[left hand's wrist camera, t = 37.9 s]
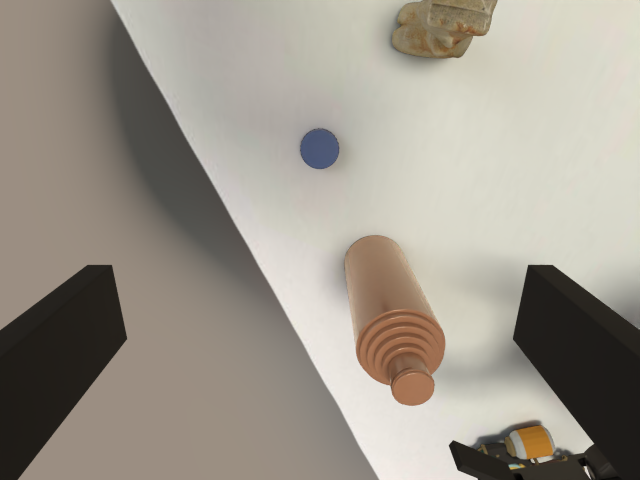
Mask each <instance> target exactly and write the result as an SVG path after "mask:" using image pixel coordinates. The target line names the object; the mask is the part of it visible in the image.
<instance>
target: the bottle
mask: <svg viewBox="0 0 640 480" xmlns="http://www.w3.org/2000/svg"><path fill="white" fill-rule="evenodd" d="M344 268H345V275H346V282H347V290H348V297H349V304H350V311H351V318H352V326H353V333H354V340H355V347H356V354H357V358H358V361H359V363H360V365H361V366H362V368H363V369H364V370H365V371H366V372H367V373H368V374H369V375H370V376H371V377H372V378H373V379H375V380H376V381H378V382H380V383H383V384H386V385H390V386H391V391H392V395H393V396H394V398H395V399H396V400H397V401H398V402H399V403H401V404H405V405H409V406H415V405H420V404H422V403H424V402H426V401H427V400H429V399H430V397H431V396H432V394H433V392H434V380H433V378H432V376H431V375H432V374H433V373H434V372H435V371H436V369H437V368H438V367H439V365H440V364H441V361H442V359H443V355H444V350H445V337H444V333H443V331H442V329H441V327H440V325H439V323H438V321H437V319H436V317H435V315H434V313H433V311H432V309H431V307H430V305H429V303H428V301H427V299H426V297H425V295H424V293H423V291H422V289H421V287H420V286H419V284H418V282H417V280H416V278H415V276H414V274H413V272H412V270H411V268H410V266H409V264H408V262H407V260H406V258H405V256H404V254H403V252H402V250H401V249H400V247H399V246H398V245H397V244H396V243H395V242H394V241H393V240H391V239H389V238H387V237H384V236H378V235H373V236H367V237H364V238H362V239H360V240H358V241H356V242H355V243H354V244H353V245H352V246H351V247H350V248H349V250H348V251H347V254H346V256H345V260H344Z"/></svg>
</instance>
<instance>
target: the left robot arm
mask: <svg viewBox="0 0 640 480" xmlns="http://www.w3.org/2000/svg"><path fill="white" fill-rule="evenodd" d="M126 340H127V336H126V331H125V326H124V321H123V317H122V312H121V307H120V302H119V297H118V292H117V287H116V283H115V278H114V273H113V268H112V265H87V266H86V267H84V268H83V269H82V270H80V271H79V272H78V273H76V274H75V275H74V276H72V277H71V278H70V279H68V280H67V281H66V282H64V283H63V284H61V285H60V286H59V287H58V288H56V289H55V290H54V291H52V292H51V293H49V294H48V295H47V296H46V297H44V298H43V299H41V300H40V301H39V302H37V303H36V304H35V305H33V306H32V307H31V308H29V309H28V310H27V311H25V312H24V313H23V314H21V315H20V316H19V317H17V318H16V319H15V320H13V321H12V322H11V323H9V324H8V325H7V326H5V327H4V328H3V329H1V330H0V480H18V479H19V477H20V476H21V475H22V473H23V472H24V471H25V470H26V468H27V467H28V466H29V464H30V463H31V462H32V461H33V459H34V458H35V457H36V455H37V454H38V453H39V452H40V450H41V449H42V448H43V446H44V445H45V444H46V442H47V441H48V440H49V439H50V437H51V436H52V435H53V433H54V432H55V431H56V430H57V428H58V427H59V426H60V425H61V423H62V422H63V421H64V419H65V418H66V417H67V416H68V414H69V413H70V412H71V410H72V409H73V408H74V406H75V405H76V404H77V403H78V401H79V400H80V399H81V398H82V396H83V395H84V394H85V392H86V391H87V390H88V389H89V387H90V386H91V385H92V383H93V382H94V381H95V380H96V378H97V377H98V376H99V374H100V373H101V372H102V370H103V369H104V368H105V367H106V365H107V364H108V363H109V361H110V360H111V359H112V358H113V356H114V355H115V354H116V353H117V351H118V350H119V349H120V347H121V346H122V345H123V344H124V342H125V341H126ZM513 340H514V341H515V342H516V344H517V345H518V346H519V347H520V349H521V350H522V351H523V353H524V354H525V355H526V356H527V358H528V359H529V360H530V362H531V363H532V364H533V365H534V367H535V368H536V369H537V371H538V372H539V373H540V374H541V376H542V377H543V378H544V380H545V381H546V382H547V383H548V385H549V386H550V387H551V389H552V390H553V391H554V392H555V394H556V395H557V396H558V398H559V399H560V400H561V401H562V403H563V404H564V405H565V407H566V408H567V409H568V410H569V412H570V413H571V414H572V416H573V417H574V418H575V419H576V421H577V422H578V423H579V425H580V426H581V427H582V428H583V430H584V431H585V432H586V434H587V435H588V436H589V437H590V439H591V440H592V441H593V443H594V444H595V445H596V446H597V448H598V449H599V450H600V452H601V453H602V454H603V455H604V457H605V458H606V459H607V461H608V462H609V463H610V464H611V466H612V467H613V468H614V470H615V471H616V472H617V473H618V475H619V476H620V477H621V479H622V480H640V330H639V329H637V328H636V327H635V326H633V325H632V324H631V323H629V322H628V321H627V320H625V319H624V318H623V317H621V316H620V315H619V314H617V313H616V312H615V311H613V310H612V309H611V308H609V307H608V306H607V305H605V304H604V303H603V302H601V301H600V300H599V299H597V298H596V297H595V296H593V295H592V294H591V293H589V292H588V291H587V290H585V289H584V288H583V287H581V286H580V285H579V284H577V283H576V282H575V281H573V280H572V279H571V278H569V277H568V276H566V275H565V274H564V273H562V272H561V271H560V270H558V269H557V268H556V267H554V266H553V265H528V268H527V273H526V278H525V283H524V287H523V292H522V297H521V302H520V307H519V312H518V316H517V321H516V326H515V331H514V336H513Z"/></svg>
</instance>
